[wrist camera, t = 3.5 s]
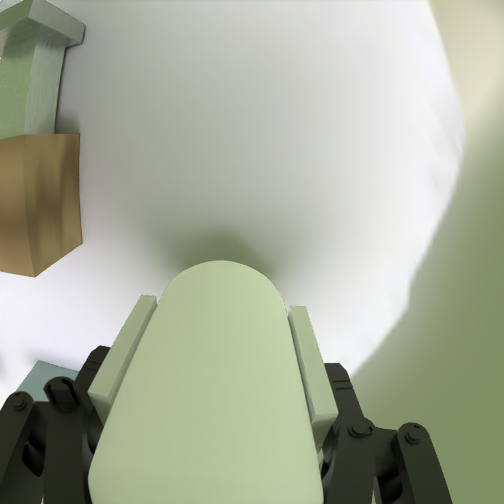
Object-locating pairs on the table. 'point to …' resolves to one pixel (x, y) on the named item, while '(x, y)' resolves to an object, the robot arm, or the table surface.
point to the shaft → (33, 65)
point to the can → (211, 401)
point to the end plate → (43, 379)
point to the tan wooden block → (38, 201)
